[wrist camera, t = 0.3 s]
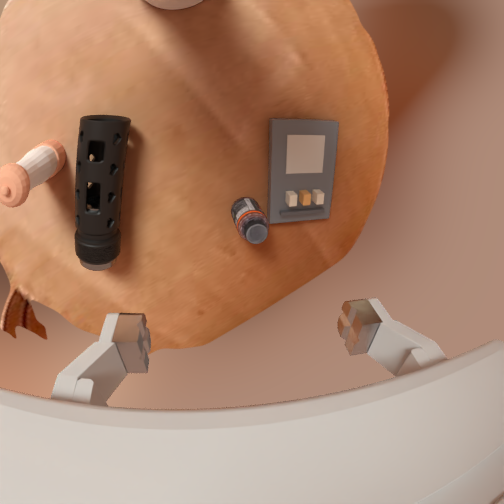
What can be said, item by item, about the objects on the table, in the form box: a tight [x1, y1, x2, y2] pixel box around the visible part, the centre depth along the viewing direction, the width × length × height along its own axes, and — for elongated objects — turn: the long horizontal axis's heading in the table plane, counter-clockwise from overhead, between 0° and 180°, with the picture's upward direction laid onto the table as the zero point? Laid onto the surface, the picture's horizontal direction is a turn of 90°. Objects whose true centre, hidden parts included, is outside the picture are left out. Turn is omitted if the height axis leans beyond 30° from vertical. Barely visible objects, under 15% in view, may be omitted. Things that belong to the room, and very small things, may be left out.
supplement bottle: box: [231, 197, 269, 244], centre depth 57 cm, size 6×6×11 cm
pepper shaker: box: [0, 140, 66, 207], centre depth 37 cm, size 7×7×19 cm
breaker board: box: [267, 118, 339, 224], centre depth 57 cm, size 22×14×4 cm, turn 0°
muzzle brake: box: [75, 115, 131, 271], centre depth 47 cm, size 10×28×10 cm, turn 165°
